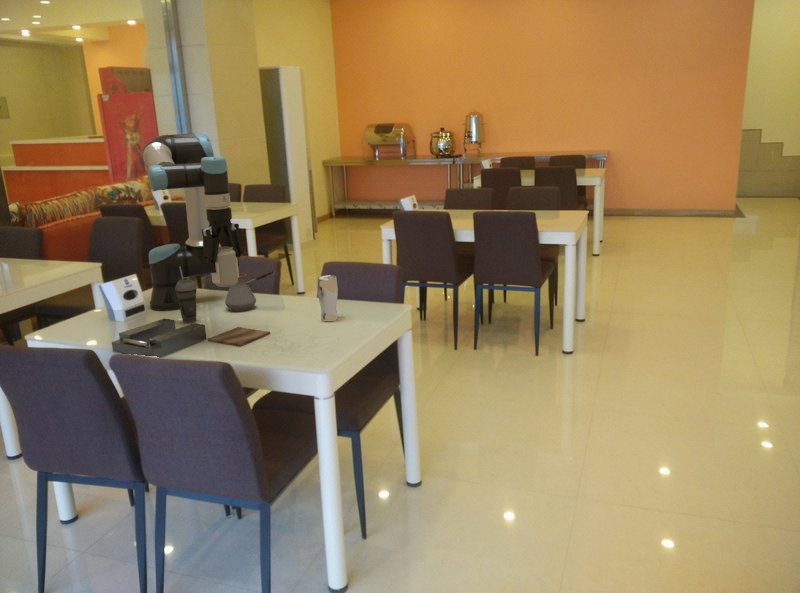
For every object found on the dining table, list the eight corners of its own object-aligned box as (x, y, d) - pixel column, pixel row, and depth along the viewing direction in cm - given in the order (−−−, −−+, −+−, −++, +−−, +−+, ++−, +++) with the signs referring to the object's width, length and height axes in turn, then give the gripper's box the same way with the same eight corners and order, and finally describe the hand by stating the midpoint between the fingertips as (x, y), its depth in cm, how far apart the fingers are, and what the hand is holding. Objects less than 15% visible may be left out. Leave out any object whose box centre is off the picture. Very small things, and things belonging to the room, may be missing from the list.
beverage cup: (197, 324, 242) (190, 268, 237) (176, 324, 242) (169, 268, 237) (202, 318, 249) (196, 263, 244) (182, 319, 249) (175, 264, 244)
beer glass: (316, 321, 239) (313, 279, 236) (324, 316, 246) (321, 274, 242) (334, 322, 237) (332, 280, 234) (342, 317, 244) (340, 275, 240)
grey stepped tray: (112, 351, 216) (110, 335, 215) (165, 332, 234) (164, 318, 232) (154, 359, 207) (152, 343, 205) (206, 339, 224) (205, 324, 223)
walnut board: (207, 341, 223) (207, 338, 222) (238, 329, 234) (238, 326, 234) (240, 346, 216) (240, 344, 215) (270, 334, 227) (269, 331, 227)
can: (232, 287, 216) (228, 249, 213) (210, 287, 217) (205, 249, 214) (242, 282, 223) (238, 245, 220) (221, 282, 224) (217, 245, 221)
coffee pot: (220, 312, 256) (215, 272, 252) (234, 304, 267) (230, 266, 263) (273, 314, 251) (269, 273, 247) (286, 305, 262) (282, 266, 258)
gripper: (202, 212, 204) (210, 288, 209) (250, 204, 220) (257, 274, 226) (184, 211, 208) (193, 285, 213) (233, 203, 224) (240, 272, 230)
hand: (226, 279), depth 220 cm, fingers closed on can, 7 cm apart
